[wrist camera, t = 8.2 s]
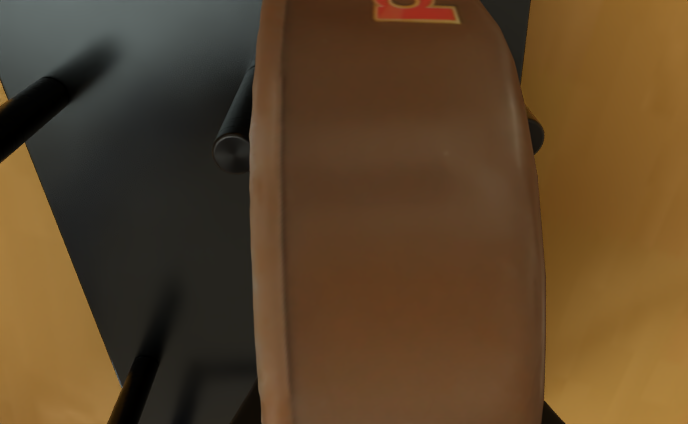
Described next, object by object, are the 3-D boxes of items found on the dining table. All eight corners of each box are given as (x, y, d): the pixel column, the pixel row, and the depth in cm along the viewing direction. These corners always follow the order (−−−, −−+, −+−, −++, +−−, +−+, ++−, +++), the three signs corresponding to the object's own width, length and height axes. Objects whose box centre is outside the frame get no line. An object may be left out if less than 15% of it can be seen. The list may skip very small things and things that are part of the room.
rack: (160, 445, 21) (115, 586, 17) (-75, -191, 11) (-343, -231, 7) (470, 433, 21) (503, 574, 17) (543, -232, 10) (679, -301, 6)
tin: (300, -71, 10) (68, 82, 3) (475, -79, 10) (690, 68, 3) (341, 443, 18) (306, 819, 11) (439, 446, 18) (468, 836, 11)
